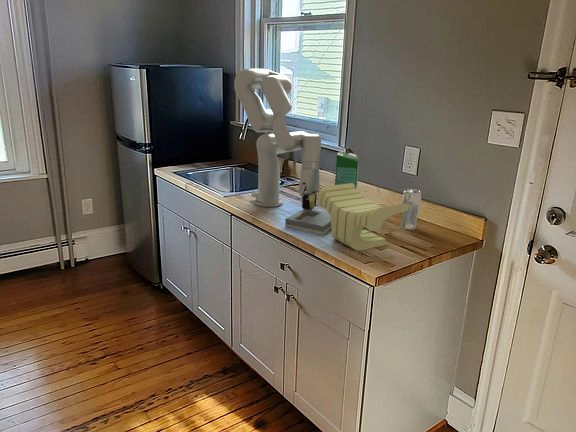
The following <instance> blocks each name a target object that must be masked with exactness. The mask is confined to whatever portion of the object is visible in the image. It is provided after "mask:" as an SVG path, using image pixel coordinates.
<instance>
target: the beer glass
mask: <svg viewBox="0 0 576 432" xmlns="http://www.w3.org/2000/svg"><path fill="white" fill-rule="evenodd" d="M421 202H422V191H421V190H419V189H415V188H414V189H413V188H406V189H404V190H403V195H402V202H401V204H405V203H409V209H408V211H405V212H402V221H401V224H400V228H401V229H403V230H406V231H415V230H417V219H418V215H419V212H420V208H421Z"/></svg>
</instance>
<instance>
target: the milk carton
mask: <svg viewBox="0 0 576 432" xmlns="http://www.w3.org/2000/svg"><path fill="white" fill-rule="evenodd" d="M359 167H360V157H359V156H358V155H357V154H355V153H352V152H348V153H346V152H344V151H340V150H338V152H337V154H336V164H335V175H334V176H335V177H334V185H339V184H348V183H353V184H354V185H355V189H358V182H359V181H358V179H359Z"/></svg>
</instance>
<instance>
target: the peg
mask: <svg viewBox="0 0 576 432" xmlns="http://www.w3.org/2000/svg"><path fill="white" fill-rule="evenodd" d="M305 195H306V196H307V194H305ZM309 200H310V206H309V209H308V210H314V209H315V207H316V206H315V193H312V192H311V193H310V196H309Z"/></svg>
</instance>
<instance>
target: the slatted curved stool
mask: <svg viewBox="0 0 576 432" xmlns="http://www.w3.org/2000/svg"><path fill="white" fill-rule="evenodd" d="M316 207H318V208H322V209H324V210H326V212H327V213H329V214H330V219H331V236H332V238H333V239H334V240H336V241H338V242H340V243H341V244H343V245H346V246H347V247H349V248H352V249H353V250H355V251H363V250H369V249H373V248H378V247H382V246H387V242H386V238H384V237H382V236H379V235H378V234H375V233H373V232H374V231H379V230H382V229H381V228H382V226H383V224H384V222H385V221H386V219H388V218H390V217H392V216H394V215H397V214H400V213H403V212H405V211H408V209H409V203H405V204H402V203H401V204H393V205H387V206H382V205H380V204H376V203H374V202H373V201H371V200H370V199H368V198H367V197H365V195H364V194H363V193H361V191H360V190H359V189H358V188H357V189H355V185H354V184H353V183H348V184H339V185H335V184H331V185H325V186H323V187H322V188H320V190H318V192H317V200H316ZM364 228H366V229H364Z"/></svg>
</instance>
